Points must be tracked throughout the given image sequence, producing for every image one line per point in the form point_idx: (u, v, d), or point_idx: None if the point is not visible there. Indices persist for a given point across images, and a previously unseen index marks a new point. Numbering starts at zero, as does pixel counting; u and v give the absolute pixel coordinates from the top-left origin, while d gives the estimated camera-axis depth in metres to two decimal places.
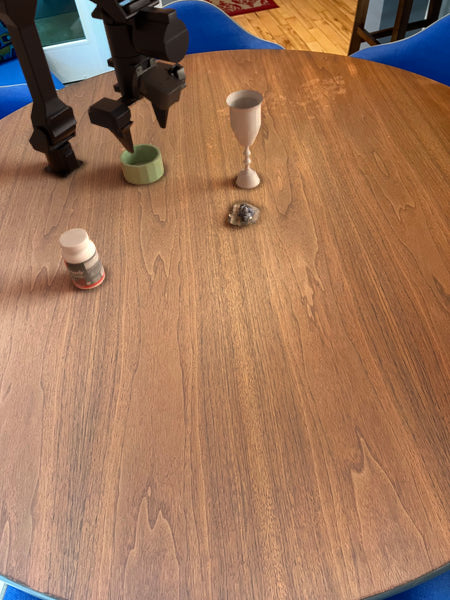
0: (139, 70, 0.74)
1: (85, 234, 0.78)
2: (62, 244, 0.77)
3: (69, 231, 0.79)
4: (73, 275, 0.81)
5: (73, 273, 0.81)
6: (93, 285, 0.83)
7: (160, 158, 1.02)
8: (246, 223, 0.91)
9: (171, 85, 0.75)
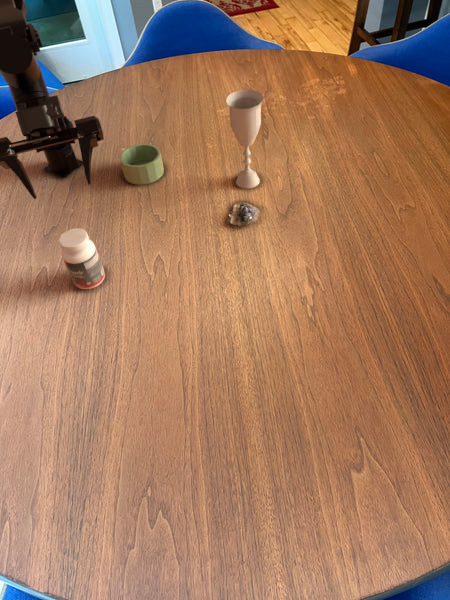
0: (21, 106, 0.76)
1: (85, 234, 0.78)
2: (62, 244, 0.77)
3: (69, 231, 0.79)
4: (73, 275, 0.81)
5: (73, 273, 0.81)
6: (93, 285, 0.83)
7: (160, 158, 1.02)
8: (246, 223, 0.91)
9: None
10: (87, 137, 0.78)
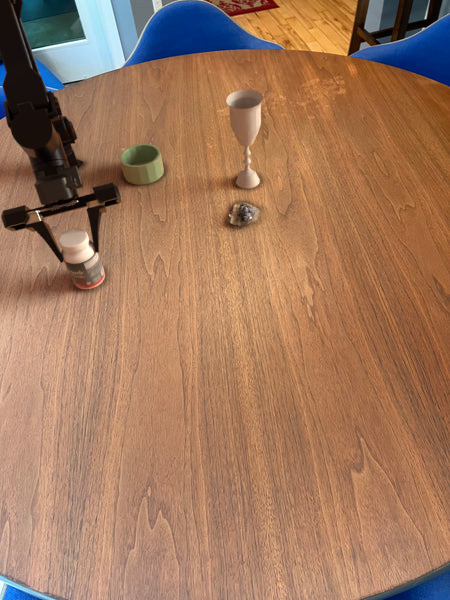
0: (40, 175, 0.75)
1: (85, 234, 0.78)
2: (62, 244, 0.77)
3: (69, 231, 0.79)
4: (73, 275, 0.81)
5: (73, 273, 0.81)
6: (93, 285, 0.83)
7: (160, 158, 1.02)
8: (246, 223, 0.91)
9: (51, 180, 0.71)
10: (96, 207, 0.77)
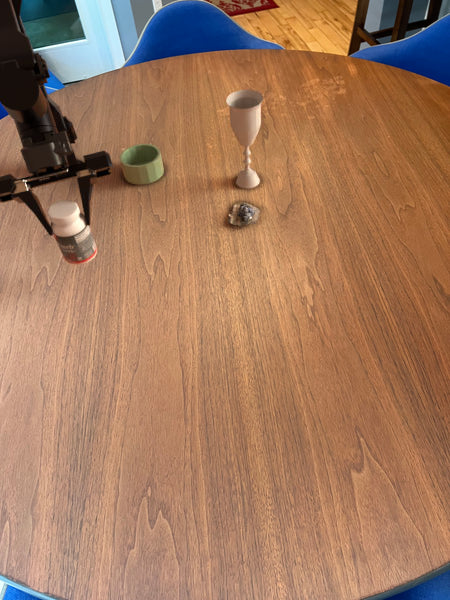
0: (27, 141, 0.71)
1: (75, 205, 0.74)
2: (51, 216, 0.73)
3: (59, 202, 0.75)
4: (64, 250, 0.77)
5: (63, 248, 0.77)
6: (85, 261, 0.79)
7: (160, 158, 1.02)
8: (246, 223, 0.91)
9: (38, 145, 0.67)
10: (86, 176, 0.73)
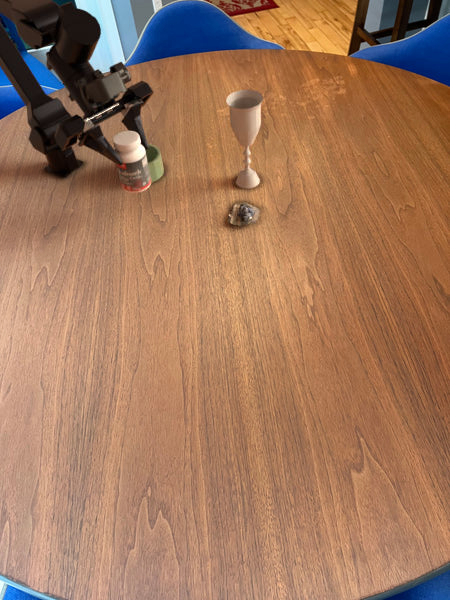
0: (82, 82, 0.78)
1: (135, 132, 0.84)
2: (121, 144, 0.81)
3: (118, 135, 0.83)
4: (131, 177, 0.86)
5: (131, 175, 0.85)
6: (147, 185, 0.89)
7: (160, 158, 1.02)
8: (246, 223, 0.91)
9: (106, 76, 0.76)
10: (138, 104, 0.83)
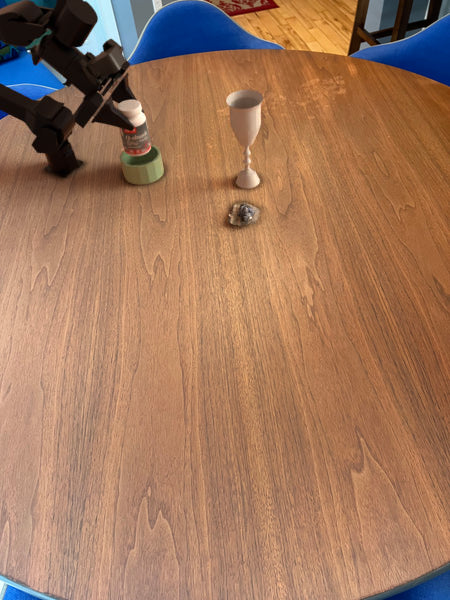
0: (83, 63, 0.88)
1: (132, 100, 0.95)
2: (130, 110, 0.93)
3: (119, 105, 0.94)
4: (140, 140, 0.97)
5: (141, 138, 0.97)
6: (150, 146, 1.01)
7: (160, 158, 1.02)
8: (246, 223, 0.91)
9: (109, 50, 0.87)
10: (126, 75, 0.95)
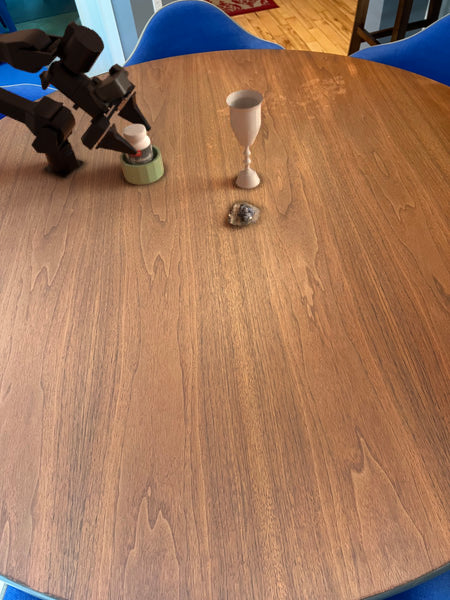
0: (90, 88, 0.91)
1: (137, 124, 0.99)
2: (135, 134, 0.97)
3: (125, 129, 0.98)
4: (145, 162, 1.01)
5: (145, 160, 1.01)
6: None
7: (160, 158, 1.02)
8: (246, 223, 0.91)
9: (115, 75, 0.90)
10: (134, 93, 0.99)
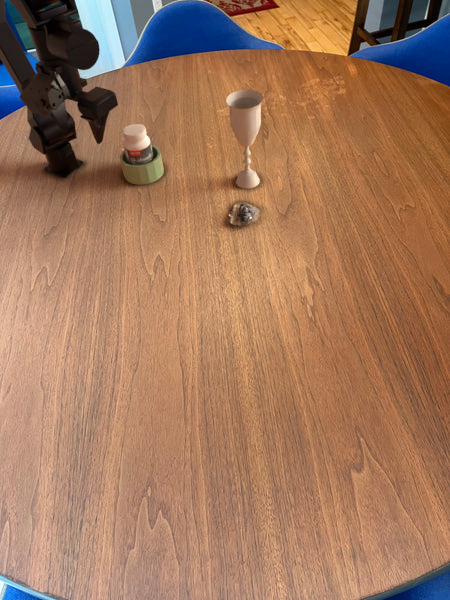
0: (38, 70, 0.81)
1: (137, 124, 0.99)
2: (135, 134, 0.97)
3: (125, 129, 0.98)
4: (145, 162, 1.01)
5: (145, 160, 1.01)
6: None
7: (160, 158, 1.02)
8: (246, 223, 0.91)
9: (30, 97, 0.80)
10: (86, 119, 0.83)
